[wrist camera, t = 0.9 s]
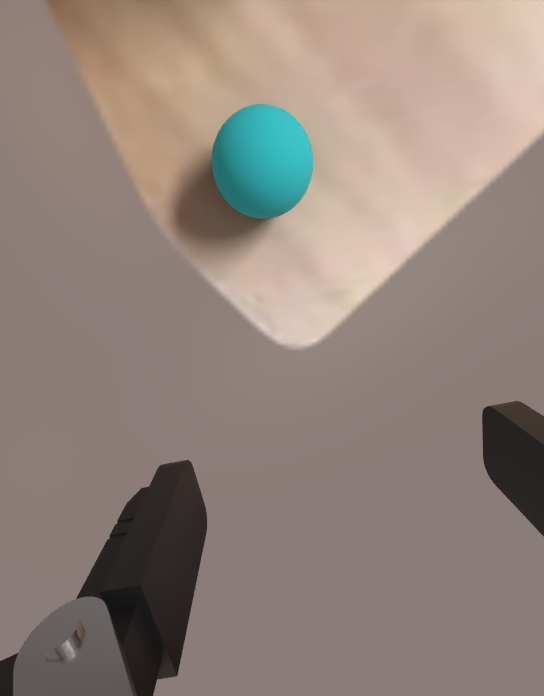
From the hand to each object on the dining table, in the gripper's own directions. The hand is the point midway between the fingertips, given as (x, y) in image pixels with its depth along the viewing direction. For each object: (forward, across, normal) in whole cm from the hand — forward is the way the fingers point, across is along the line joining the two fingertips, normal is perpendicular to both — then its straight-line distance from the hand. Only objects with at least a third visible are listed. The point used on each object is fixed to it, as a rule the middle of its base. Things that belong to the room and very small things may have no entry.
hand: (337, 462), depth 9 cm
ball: (+15, 0, -10) cm, 18 cm away
